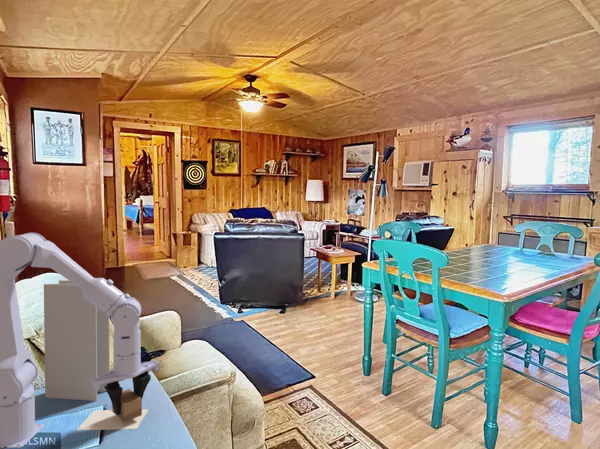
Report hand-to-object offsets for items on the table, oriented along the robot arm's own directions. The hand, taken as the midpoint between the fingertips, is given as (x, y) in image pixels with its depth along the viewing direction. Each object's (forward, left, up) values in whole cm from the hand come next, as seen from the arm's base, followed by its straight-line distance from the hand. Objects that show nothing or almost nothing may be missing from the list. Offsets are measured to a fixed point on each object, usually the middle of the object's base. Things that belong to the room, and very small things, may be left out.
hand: (127, 408), depth 86 cm
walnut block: (0, 0, -1) cm, 1 cm away
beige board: (-3, 0, -3) cm, 4 cm away
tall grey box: (-17, +13, -3) cm, 22 cm away
